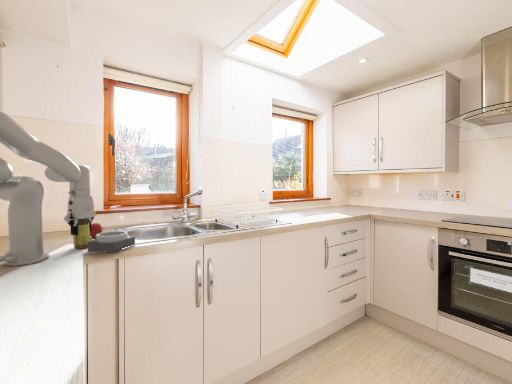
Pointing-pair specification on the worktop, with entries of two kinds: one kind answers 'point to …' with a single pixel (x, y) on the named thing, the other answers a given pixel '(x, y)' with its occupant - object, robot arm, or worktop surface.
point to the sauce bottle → (82, 234)
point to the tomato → (95, 229)
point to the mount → (111, 241)
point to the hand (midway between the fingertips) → (81, 232)
